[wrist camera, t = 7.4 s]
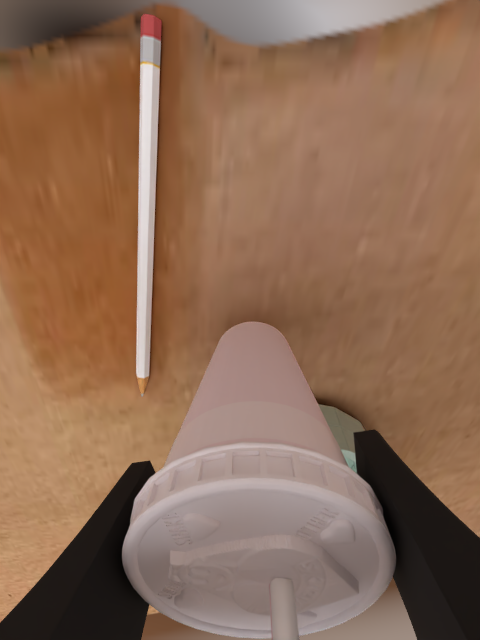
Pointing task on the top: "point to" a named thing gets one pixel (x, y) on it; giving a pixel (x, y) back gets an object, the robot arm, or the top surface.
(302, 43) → the top surface
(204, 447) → the smoothie
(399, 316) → the top surface
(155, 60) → the pencil
